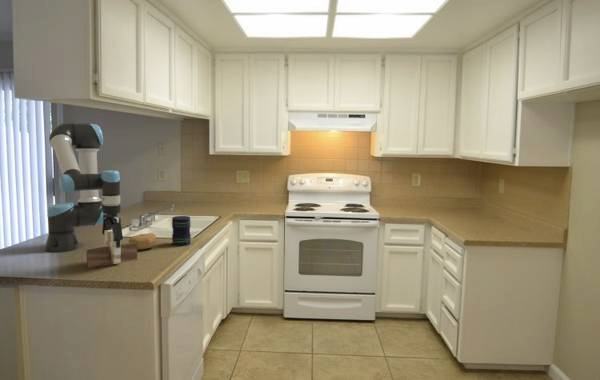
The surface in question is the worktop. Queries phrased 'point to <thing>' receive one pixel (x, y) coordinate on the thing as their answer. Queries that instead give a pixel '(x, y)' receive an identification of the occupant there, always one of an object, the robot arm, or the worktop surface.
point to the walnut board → (103, 258)
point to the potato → (144, 240)
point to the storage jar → (181, 230)
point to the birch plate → (111, 246)
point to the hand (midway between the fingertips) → (112, 252)
